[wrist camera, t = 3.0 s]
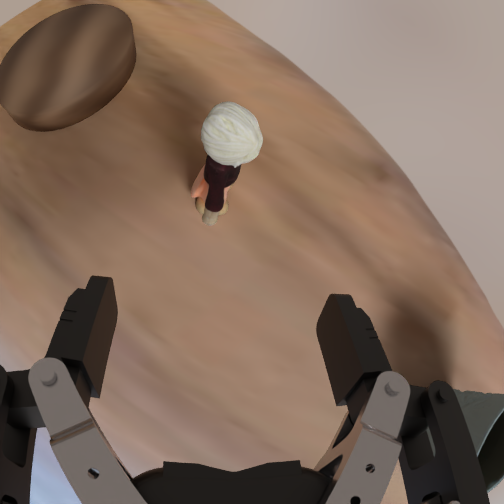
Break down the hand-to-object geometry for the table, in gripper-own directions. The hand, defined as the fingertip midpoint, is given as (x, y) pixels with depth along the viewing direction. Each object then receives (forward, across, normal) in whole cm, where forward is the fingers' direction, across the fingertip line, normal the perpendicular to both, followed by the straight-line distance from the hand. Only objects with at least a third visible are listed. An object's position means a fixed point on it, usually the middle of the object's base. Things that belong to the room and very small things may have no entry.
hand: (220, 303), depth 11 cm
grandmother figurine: (+16, 0, +4) cm, 17 cm away
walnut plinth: (+26, +18, -6) cm, 32 cm away
